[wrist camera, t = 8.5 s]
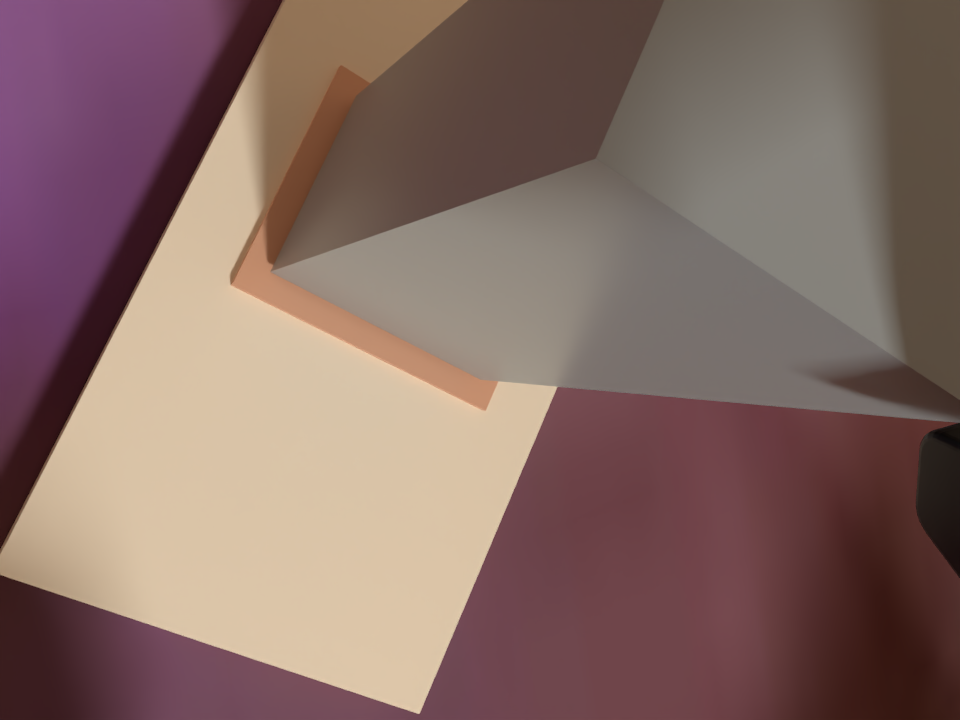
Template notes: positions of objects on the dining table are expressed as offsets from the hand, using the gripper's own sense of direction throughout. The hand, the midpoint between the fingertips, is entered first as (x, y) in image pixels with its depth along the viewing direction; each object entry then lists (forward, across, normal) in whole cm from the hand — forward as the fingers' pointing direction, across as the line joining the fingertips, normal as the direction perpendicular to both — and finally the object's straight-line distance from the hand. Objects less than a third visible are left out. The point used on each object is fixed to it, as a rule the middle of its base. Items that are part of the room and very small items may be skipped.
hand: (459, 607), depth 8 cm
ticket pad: (+14, -2, +1) cm, 14 cm away
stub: (+12, -2, +1) cm, 12 cm away
